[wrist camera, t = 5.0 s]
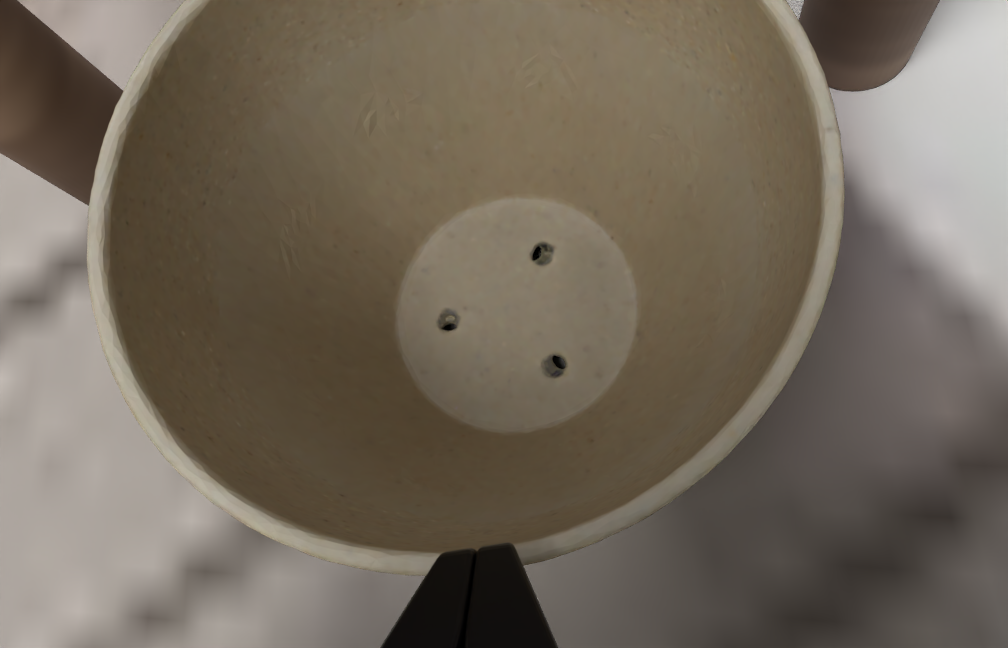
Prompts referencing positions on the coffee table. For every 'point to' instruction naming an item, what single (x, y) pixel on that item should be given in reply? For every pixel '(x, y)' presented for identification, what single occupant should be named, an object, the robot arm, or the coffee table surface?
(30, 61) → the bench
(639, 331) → the flower pot
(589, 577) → the coffee table surface
